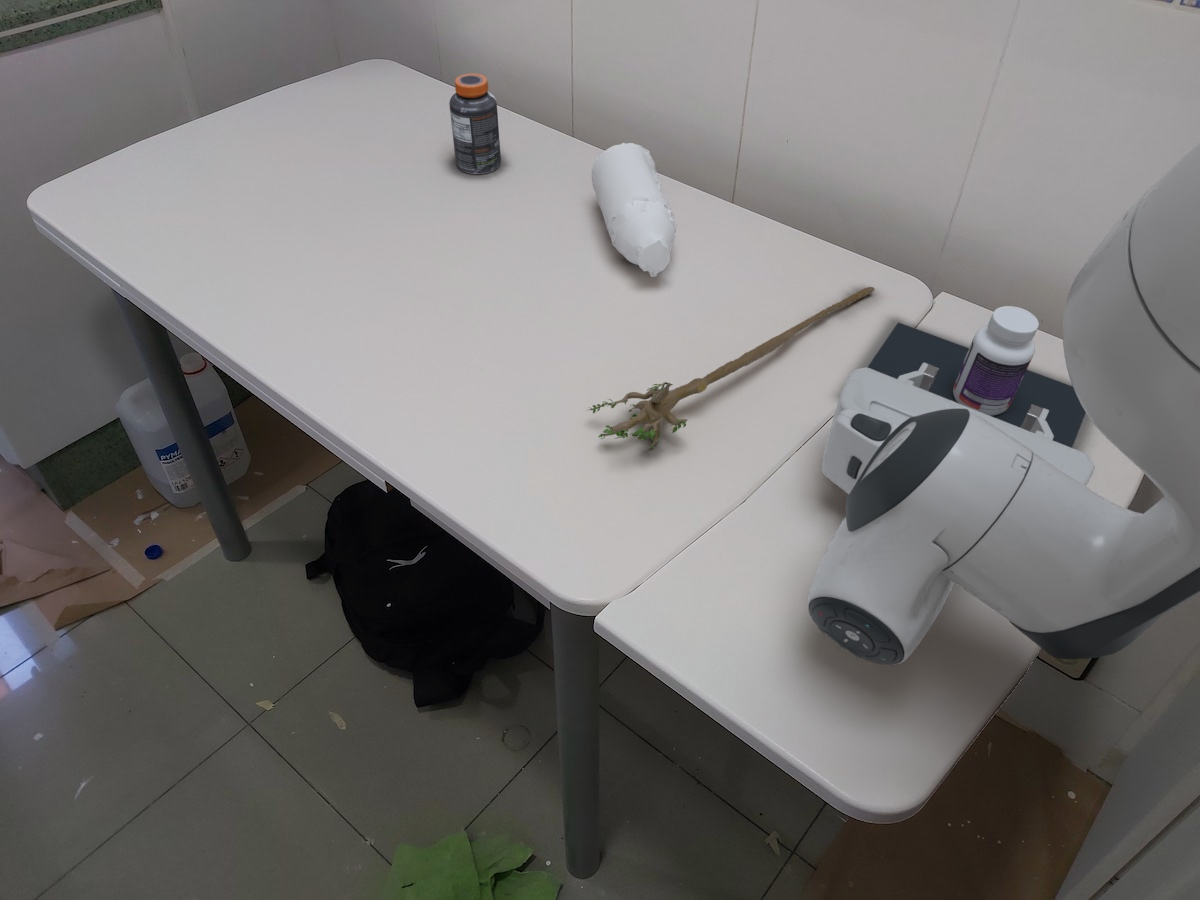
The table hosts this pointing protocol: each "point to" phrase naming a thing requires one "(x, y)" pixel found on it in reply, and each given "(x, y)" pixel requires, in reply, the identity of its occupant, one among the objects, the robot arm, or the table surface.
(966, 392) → the pill bottle
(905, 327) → the mat
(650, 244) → the white bottle
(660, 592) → the table surface
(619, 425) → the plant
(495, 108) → the pill bottle
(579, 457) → the table surface
